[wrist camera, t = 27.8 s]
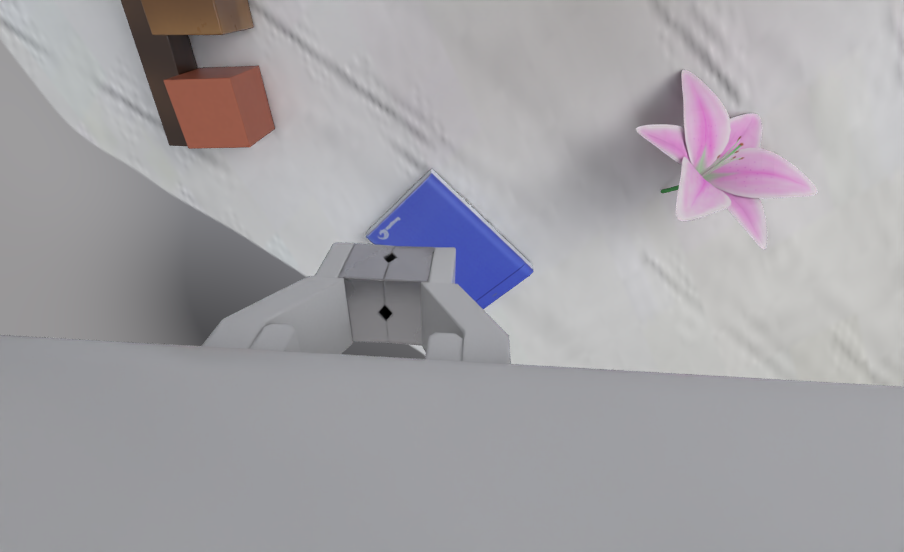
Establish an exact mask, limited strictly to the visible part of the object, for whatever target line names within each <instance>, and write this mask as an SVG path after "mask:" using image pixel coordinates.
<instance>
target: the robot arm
mask: <svg viewBox="0 0 904 552" xmlns="http://www.w3.org/2000/svg"><path fill="white" fill-rule="evenodd" d="M455 267H456V249H455V247H435V248H434V247H412V246H390V245H375V244H360V243H356V244H355V243H342V242H336V243H334V244H333V245H332V246H331V248H330V250H329V252H328V253H327V255H326V257H325V259H324V260H323V262H322V264H321V266H320V267H319V269H318V271H317V273H316V274H315V276H308V277H306V278H304V279H302V280H300V281H298V282H296V283H294V284H292V285H290V286H288V287H286V288H284V289H282V290H280V291H278V292H276V293H274V294H272V295H270V296H268V297H266V298H264V299H262V300H260V301H258V302H256V303H254V304H252V305H250V306H248V307H246V308H244V309H242V310H240V311H238V312H236V313H234V314H232V315H230V316H228V317H226V318H224V319H222V320H221V322H220V323H219V324H218V326H217V327H216V328H215V329H214V331H213V332H212V333H211V335H210V336H209V337H208V339H207V340H206V341H205V343H204V344H203V345H202V346H186V345H169V344H151V343H134V342H114V341H99V340H81V339H79V340H78V339H63V338H46V337H29V336H11V335H0V552H904V387H903V386H885V385H868V384H850V383H832V382H814V381H797V380H780V379H762V378H745V377H728V376H711V375H693V374H676V373H659V372H641V371H624V370H607V369H589V368H572V367H554V366H537V365H519V364H511V359H510V344H509V335H508V334H507V333H506V332H505V331H504V330H503V329H502V328H501V327H500V326H499V325H498V324H497V323H496V322H495V321H494V320H493V319H492V318H491V317H490V316H489V315H488V314H487V313H486V312H485V311H484V310H483V309H482V308H481V307H480V306H479V305H478V304H477V303H476V302H475V301H474V300H473V299H472V298H471V297H470V296H469V295H468V294H467V293H466V292H465V291H464V290H463V289H462V288H461V287H460V286H459V285H458V284H455ZM353 342H383V343H399V344H410V345H422V346H423V349H424V350H425V352H426V356H425V359H414V358H413V359H412V358H395V357H378V356H360V355H343V354H341V353H342V352H343V351H345V350H346V349H347V348H348V347H349V346H350V345H351V344H353Z"/></svg>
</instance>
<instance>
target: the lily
mask: <svg viewBox="0 0 904 552" xmlns="http://www.w3.org/2000/svg"><path fill="white" fill-rule="evenodd" d="M681 79H682V90H683V101H684V128H683V127H680V126H676V125H669V124H654V125H644V126H639V127H637V128H636V131H637V132H638V133H639V134H640V135H641V136H642V137H644V138H645V139H646V140H648V141H649V142H650V143H652V144H653V145H654V146H656V147H657V148H658V149H660V150H661V151H662V152H664V153H665V154H667V155H668V156H669V157H671V158H672V159H673V160H675V161H676V162H677V163H679V164H680V165H681V166H682V168H681V177H680V183H679V185H678V186H674V187H671V188H667V189H663V190H661V193H666V192H671V191H674V190H678V195H677V201H676V216H677V218H678V220H681V221H691V220H695V219H698V218H702V217H705V216H707V215H710V214H713V213H715V212H718V211H721V210H723V209H726V208H727V209H728V210H729V212H730V213H731V214H732V215H733V216H734V217H735V218H736V220H737V221H738V222H739V223H740V224H741V225H742V227H743V228H744V229H745V230H746V231H747V232H748V234H749V235H750V236H751V237H752V238H753V239H754V241H755V242H756V243H757V244H758V245H759V246H760V247H761V248H762V249H764V250H765V249H766V247H767V238H768V237H767V224H766V218H765V212H764V209H763V205H762V202H761V201H760V199H759V198H763V199H767V198H785V197H803V196H812V195H816V194H817V192H818V190H817V188H816V186H815V185H814V184H813V183H812V182H811V180H810V179H809V178H808V177H807V176H806V175H805V174H803V173H802V172H801V171H800V170H799V169H798V168H797V167H795V166H794V165H793V164H791V163H790V162H789V161H788V160H786V159H785V158H783V157H781V156H780V155H778V154H776V153H774V152H772V151H769V150H766V149H763V148H760V146H761V142H762V121H761V118H760V116H759V115H758V114H756V113H748V114H743V115H739V116H736V117H733V118H731V119H730V118H729V115H728V113H727V110H726V108H725V106H724V105H723V104H722V102H721V101H720V99H719V98H718V97H717V96H716V95H715V93H714V92H713V91H712V90H711V89H710V88H709V87H708V86H707V85H706V84H705V83H704V82H703V81H701V80H700V79H699V78H698V77H697V76H696V75H694V74H693V73H691V72H690V71H688V70H685V69H683V71H682V74H681Z"/></svg>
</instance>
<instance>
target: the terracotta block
mask: <svg viewBox="0 0 904 552" xmlns="http://www.w3.org/2000/svg"><path fill="white" fill-rule="evenodd" d="M164 84H165V86H166V89H167V92H168V94H169V97H170V100H171V102H172V105H173V108H174V111H175V113H176V116H177V119H178V121H179V124H180V127H181V129H182V132H183V135H184V138H185V140H186V143H187V146H188V148H189V149H191V148H237V147H251V146H252V145H254V144H255V143H256V142H258V141H259V140H260V139H262V138H263V137H264V136H266V135H267V134H268V133H270V132H271V131H272V130H274V129H275V127H274V123H273V119H272V116H271V112H270V108H269V104H268V100H267V96H266V92H265V88H264V84H263V80H262V77H261V73H260V69H259V66H240V67H212V68H198V69H195V70H192V71H189V72H186V73H183V74H180V75H177V76H174V77H171V78H168V79H165V80H164Z"/></svg>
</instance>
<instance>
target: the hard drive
mask: <svg viewBox="0 0 904 552" xmlns="http://www.w3.org/2000/svg"><path fill="white" fill-rule="evenodd" d="M366 238H368V239H369V240H370V241H371V242H372V243H373V244H375V245H390V246H412V247H434V248H435V247H455V249H456V267H455V284H458V285H459V286H460V287H461V288H462V289H463V290H464V291H465V292H466V293H467V294H468V295H469V296H470V297H471V298H472V299H473V300H474V301H475V302H476V303H477V304H478V305H479V306H480V307H481V308H482V309H484V308H486V307H487V306H488V305H490V304H491V303H492V302H494V301H495V300H497V299H498V298H499V297H501V296H502V295H503V294H505V293H506V292H508V291H509V290H510V289H512V288H513V287H515V286H516V285H517V284H519V283H520V282H521V281H523V280H524V279H526V278H527V277H528V276H530V275H531V274H532V273H533V266H532V264H531V263H530V262H529V261H528V260H527V259H526V258H525V257H524V256H523V255H522V254H521V253H520V252H518V251H517V250H516V249H515V248H514V247H513V246H512V245H511V244H510V243H509V242H508V241H507V240H506V239H505V238H504V237H503V236H502V235H501V234H500V233H499V232H498V231H496V230H495V229H494V228H493V227H492V226H491V225H490V224H489V223H488V222H487V221H486V220H485V219H484V218H483V217H482V216H481V215H480V214H479V213H478V212H477V211H476V210H475V209H474V208H472V207H471V206H470V205H469V204H468V203H467V202H466V201H465V200H464V199H463V198H462V197H461V196H460V195H459V194H458V193H457V192H456V191H455V190H454V189H452V188H451V187H450V186H449V185H448V184H447V183H446V182H445V181H444V180H443V179H442V178H441V177H440V176H439V175H438V174H437V173H436V172H435V171H434V170H433V169H431V170H430V171H429V172H427V173H426V174H425V175H424V176H423V177H422V178H421V179H420V180H419V181H418V182H417V183H416V184H415V185H414V186H413V187H412V188H411V189H410V190H409V191H408V192H407V193H406V194H405V195H404V196H403V197H402V198H401V199H400V200H399V201H398V202H397V203H396V204H395V205H394V206H393V207H392V208H391V209H390V210H389V211H387V212H386V213H385V214H384V215H383V216H382V217H381V218H380V219H379V220H378V221H377V222H376V223H375V224H374V225H373V226H372V227H371V228H370V229H369V231H368V233H367V235H366Z"/></svg>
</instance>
